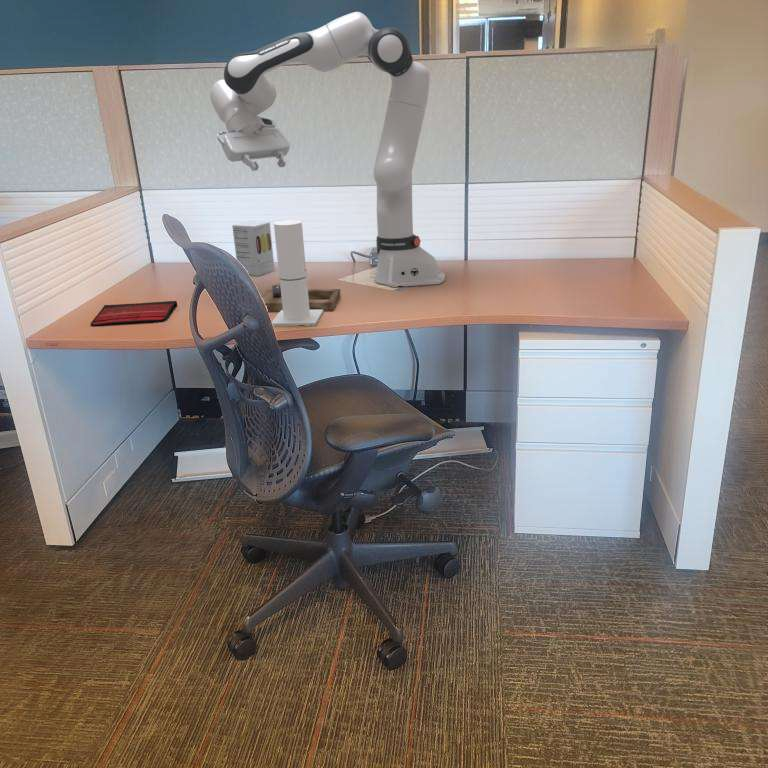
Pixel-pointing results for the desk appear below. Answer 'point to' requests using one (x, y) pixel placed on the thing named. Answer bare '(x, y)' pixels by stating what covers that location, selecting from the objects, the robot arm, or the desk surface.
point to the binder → (134, 313)
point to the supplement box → (254, 247)
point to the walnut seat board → (275, 299)
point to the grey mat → (309, 321)
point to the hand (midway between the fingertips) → (269, 167)
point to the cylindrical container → (292, 269)
